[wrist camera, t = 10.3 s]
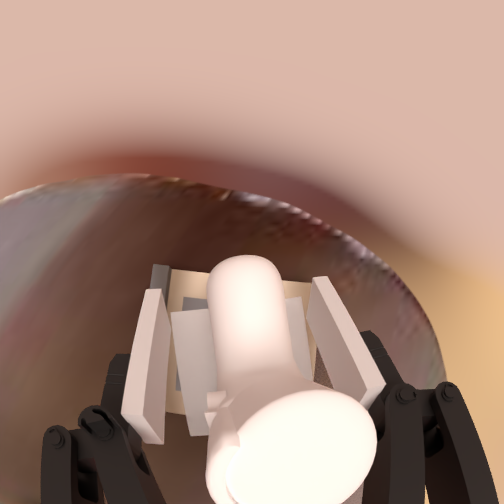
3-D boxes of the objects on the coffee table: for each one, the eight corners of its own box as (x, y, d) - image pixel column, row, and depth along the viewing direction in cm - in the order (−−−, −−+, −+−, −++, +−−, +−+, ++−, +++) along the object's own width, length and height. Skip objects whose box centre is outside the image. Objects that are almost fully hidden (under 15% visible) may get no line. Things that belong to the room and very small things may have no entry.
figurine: (284, 286, 19) (428, 179, 5) (302, 415, 17) (439, 539, 3) (179, 298, 18) (51, 210, 4) (199, 431, 16) (159, 602, 2)
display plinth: (154, 398, 26) (140, 412, 21) (165, 274, 30) (153, 264, 25) (298, 409, 28) (313, 425, 22) (308, 289, 31) (325, 281, 26)
